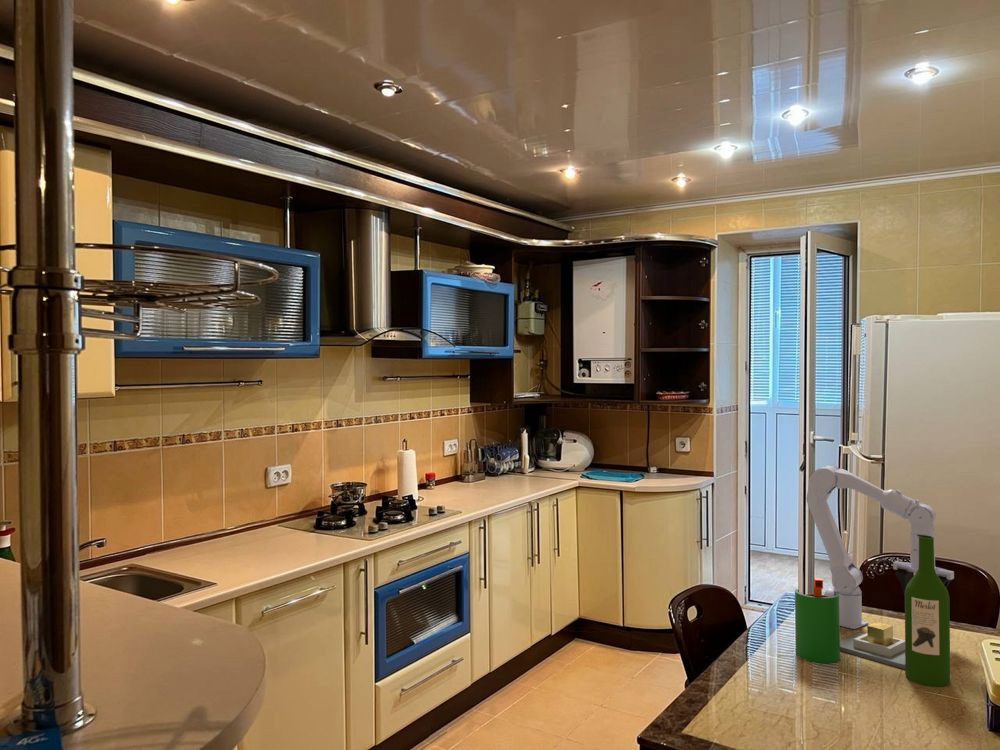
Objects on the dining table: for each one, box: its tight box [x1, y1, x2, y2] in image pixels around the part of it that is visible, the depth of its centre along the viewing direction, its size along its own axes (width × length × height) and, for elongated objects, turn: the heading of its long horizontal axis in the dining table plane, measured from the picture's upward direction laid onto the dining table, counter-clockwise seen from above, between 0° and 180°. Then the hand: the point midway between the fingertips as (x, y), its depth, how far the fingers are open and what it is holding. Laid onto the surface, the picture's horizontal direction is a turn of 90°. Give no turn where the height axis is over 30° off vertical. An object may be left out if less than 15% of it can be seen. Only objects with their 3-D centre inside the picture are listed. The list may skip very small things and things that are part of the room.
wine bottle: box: [904, 536, 951, 688], centre depth 173 cm, size 9×9×32 cm
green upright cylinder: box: [794, 576, 841, 664], centre depth 188 cm, size 10×9×20 cm
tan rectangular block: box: [866, 621, 894, 647], centre depth 191 cm, size 4×5×6 cm
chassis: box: [840, 632, 905, 670], centre depth 191 cm, size 18×14×3 cm
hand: (923, 601), depth 201 cm, fingers open, 7 cm apart
